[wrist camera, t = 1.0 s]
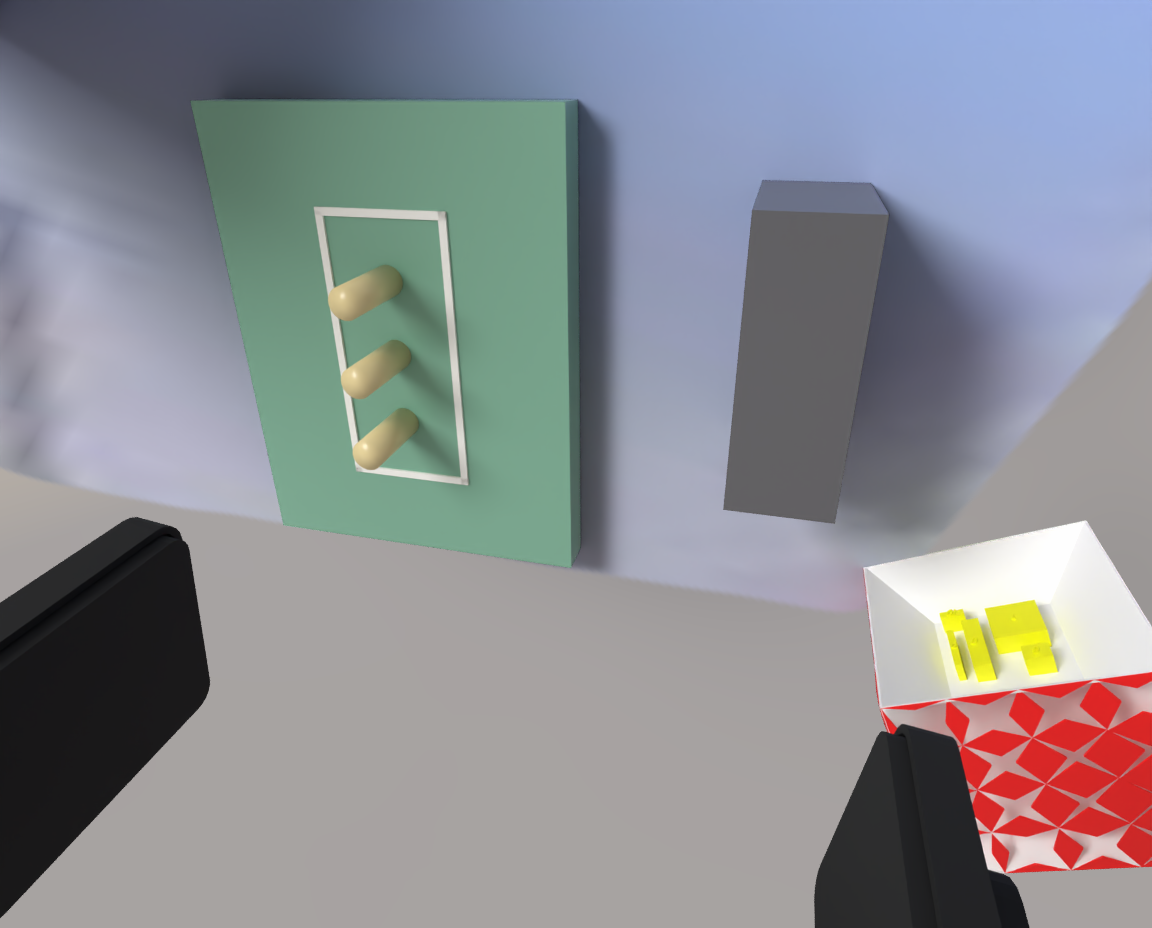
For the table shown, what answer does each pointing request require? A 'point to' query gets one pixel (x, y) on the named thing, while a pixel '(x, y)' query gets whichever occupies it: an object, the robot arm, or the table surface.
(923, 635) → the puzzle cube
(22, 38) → the table surface
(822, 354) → the block
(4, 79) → the table surface
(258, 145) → the header board
